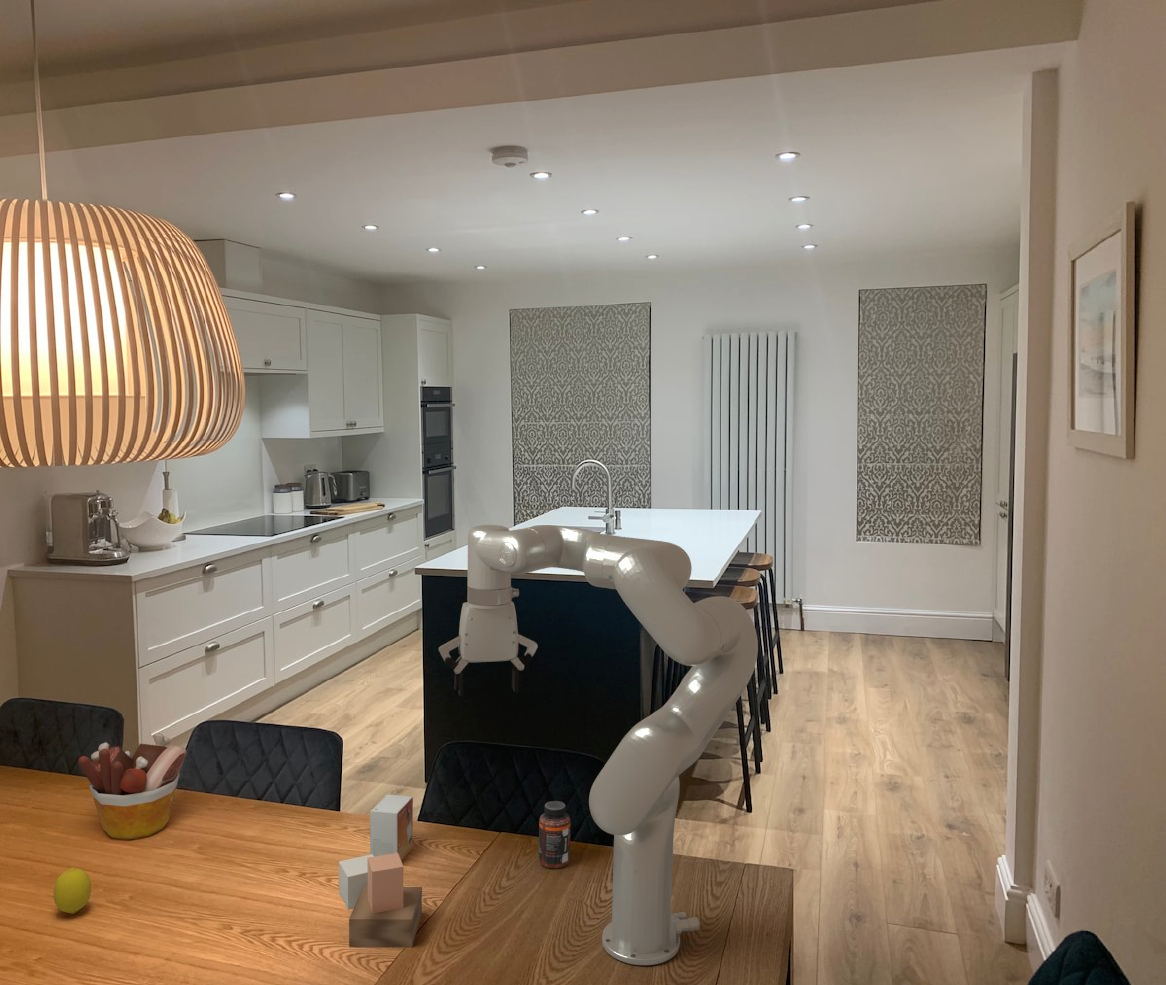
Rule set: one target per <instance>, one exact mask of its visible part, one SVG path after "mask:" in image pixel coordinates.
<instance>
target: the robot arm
mask: <svg viewBox="0 0 1166 985" xmlns="http://www.w3.org/2000/svg"><path fill="white" fill-rule="evenodd" d="M549 568H553V569H555V568H557V569H564V570H570V571H571V570H572V571H578V572H583V574H584V578H585V580H586V581H587V582H588V583H589V584H590V585H591V586H594V587H597V588H606V589H610V590H616V591H617V593H618V595H619V596H620V598H621V599H622V601H623V603H625V605H626V607H627V608H628V609H629V610H630V611H631V613H632V615H634V616H635V617H636V619H637V620H638V622H640V624H641V625H642V627H643V628H644V629H645V630H646V631H647V632H648V634H649V635H650V636H651V637H652V639H653V640H654V641H655V643H656V644H657V645H658V646H659V647H660V648H661V649H662V651H663V652H664V653H665V654H666V655H667V656H668V657H669V658H671V659H672V660H673V661H674V662H677V663H678V664H680V665H683V666H688V667H691V668H690V669H689V671H688V672H687V673H686V674H685V675H684V677H683V678H682V679H681V682H680V684H679V685H678V687H676V690H675V691H674V692H673V694H672V695H671V696H670V697H669V699H668V700H667V701H666V702H665V704H664V705H663V706H662V707H661V708H659V709H657V710H656V711H655V712H653V713H652V714H650V715H649V716H647V717H645V718H643V719H642V720H641V721H639V722H638V723H636V724H635V725H634V726H632V727H631V729H630V730H628V732H627V733H626V734H625V735H624V736H623V738H622V739H621V741H620V742H619V744H618V745H617V747H616V748H615V749H614V751H613V753H612V754H611V755H610V757H609V759H608V760H607V761H606V763H605V764H604V767H602V769H601V770H600V772H599V773H598V775H597V777H596V778H595V779H594V782H593V783H592V785H591V788H590V792H589V796H588V797H589V798H588V806H589V812H590V815H591V818H592V819H593V821H594V823H595V825H597V827H598V828H600V829H601V830H602V831H604V832H605V833H607V834H610V835H613V836H614V837H613V860H612V861H613V864H612V901H611V904H612V905H611V906H612V907H611V910H612V911H611V912H612V913H611V922H609V923H607V925H605V927H604V929H603V931H602V935H601V942H602V946H603V949H604V950H605V951H606V952H607V953H608V954H609V955H610V956H611V957H613V958H614V959H616V960H619V961H620V962H622V963H626V964H629V965H636V966H653V965H659V964H662V963H665V962H667V961H669V960H671V959H672V958H673V957H674V956H676V954H678V953H679V949H680V947H681V938H680V935H682V933H683V932H692V931H693V932H694V931H700V921H699V918H698V917H697V916H695V917H688V918H687V913H686V912H685V911H680V912H675V913H673V912H672V890H673V886H672V885H673V857H674V856H673V854H674V835H675V834H674V833H675V832H674V831H675V822H676V816H677V815H676V814H677V811H678V810H677V809H678V802H679V799H680V787H681V786H680V785H681V784H680V777H679V776H680V775H681V774H682V773H684V772H685V771H686V770H687V769H689V768H690V767H691V766H692V765H694V764H695V763H696V762H697V761H698V759H699V758H701V756H702V754H703V752H704V751H705V749H706V748H707V746H708V744H709V743H710V742H711V739H713V736H714V735H715V734H717V733H716V732H717V731H718V730H719V728H720V727H721V726H722V724H723V723H724V722H725V720H726V719H727V717H728V715H729V713H731V710H732V709H733V707H734V706H735V704H736V703H737V701H738V700H739V699H740V697H741V696H742V694H743V692H744V691H745V690H746V688H747V686H748V685H749V683H750V680H751V678H752V676H753V673H754V671H755V667H756V664H757V659H758V652H759V640H758V634H757V630H756V627H755V624H754V621H753V619H752V617H751V615H750V613H749V612H748V610H747V609H746V608H745V607H744V606H743V605H742V604H741V603H740V602H739V601H737V600H735V599H734V598H731V597H727V596H721V595H720V596H719V595H718V596H709V597H707V598H703V599H701V600H698V601H696V602H693V601H692V600H691V599H690V597H689V596H688V595H687V594H686V593H685V592H684V590H683V589H684V588H685V587H686V585H687V584H688V583H689V581H690V579H691V575H692V561H691V558H690V556H689V554H688V553H687V551H686V550H685V549H683V548H682V547H681V546H679V545H677V544H675V543H671V542H668V541H662V540H654V539H645V538H636V537H628V536H627V537H626V536H620V535H613V534H604V533H600V532H596V531H592V530H589V529H585V528H579V527H572V526H564V525H563V526H562V525H552V524H543V525H536V526H534V525H533V526H529V527H523V528H519V529H512V530H510V529H509V528H508V527H506V526H502V525H497V524H496V525H495V524H482V525H475V526H473V527H471V528H470V530H469V531H468V534H467V595H466V597H467V599H466V600H467V602H463V603H462V607H461V611H460V617H459V618H460V620H459V628H458V630H459V631H458V636H456V637H455V638H453V639H451V640H449V641H447V642H446V643H444V644H442V645H440V646H439V647H438V652H439V653H440V656H441V657H442V659H443V661H444V662H445V665H447V667H449V668H450V669H451V670H452V671H453V673H454V684H453V685H454V690H455V691H457V692H458V696H460V697H463V696H464V695H465V674H464V671H463V670H464V669H465V667H466V666H467V665H468V664H469V663H487V662H489V663H491V662H492V663H493V662H507V661H510V662H511V663H512V664H513V665H512V667H511V689H512V690H513V693H515V694H516V693H519V691H520V690H519V689H520V688H519V687H522V686H523V670H524V669H525V667H526V666H527V665H528V664H529V662H531V661H532V659H533V656H534V654H535V653H536V651H537V649H538V647H539V646H538V644H537V642H536V641H534V640H531V639H530V638H527V637H525V636H523V635H521V634H519V632H518V622H517V620H518V619H517V613H516V607H515V606H516V605H515V603H514V601H512V599H513V598H515V597H516V598H517V597H519V596H520V590H519V588H514V587H513V586H512V583H511V582H512V575H513V576H517V575H518V576H519V575H524V574H529V573H533V572H537V571H540V570H544V569H549ZM519 644H520V645H522V646H524V647H526V651H525V652H524V653H523V654H522V655H521V657H518V655H519ZM456 648H458V654H459V657H458V658H457V659H456V660H454V658H452V657H451V655H450V652H451V651H453V650H455V649H456Z"/></svg>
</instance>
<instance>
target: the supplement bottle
mask: <svg viewBox="0 0 1166 985" xmlns="http://www.w3.org/2000/svg"><path fill="white" fill-rule="evenodd" d="M566 808H567V807H566V804H565V803H564V802H563V801H558V800H554V801H553V800H552V801H547V802H545V804H544V812H543V813H542V814H541V815H540V817H539V821H538V823H539V824H538V825H539V826H538V830H539V831H538V862H539V864H540V865H541V866H543V867H545V868H546V869H547V868H548V869H561V868H564V867H566V866H567V865H569V863H570V860H571V817H570V816H569V814H567V810H566Z"/></svg>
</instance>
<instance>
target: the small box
mask: <svg viewBox="0 0 1166 985" xmlns="http://www.w3.org/2000/svg"><path fill="white" fill-rule="evenodd" d="M413 802H414V797H413V796H407V795H400V794H399V795H397V794H386V795H385V796H384V797H383V798H382V799H381V800H380V801H379V802H378V803H377V804H376V805H375V806H374V807H373V808H371V810H370V812H369V816H370V817H369V829H370V830H369V836H370V838H369V839H370V841H369V843H370V844H369V852H370V853H369V855H370V854H373V856H374V857H375V856H381V855H387V854H393V853H398V854H399V857H400V859H401V862H402V861H403V860H404V859H405V858H406V856H407V855H408V854H409V853H410V852H411V851H412V850H413V839H414V837H413V832H414V831H413V830H414V829H413V827H414V826H413V823H414V822H413V817H414V816H413V815H414V813H413V812H414V810H413V805H414V803H413Z"/></svg>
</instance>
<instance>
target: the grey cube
mask: <svg viewBox="0 0 1166 985" xmlns="http://www.w3.org/2000/svg"><path fill="white" fill-rule="evenodd" d="M368 857H374V856H373V854H370V853H369V854H367V855H361V856H357V857H353V858H350V859H345V860H340V861H338V894H339V896H340V897H342V898H341V899H342V902H343V901H344V902H343V904H344V903H345V904H344V906H345V905H346V906H345V907H346V910H347V911H349V909H350V910H353V908H354V906H355V904H356V902H357V899H358V897H359V895H360V892H361V890H362V888H363V887H368Z"/></svg>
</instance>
